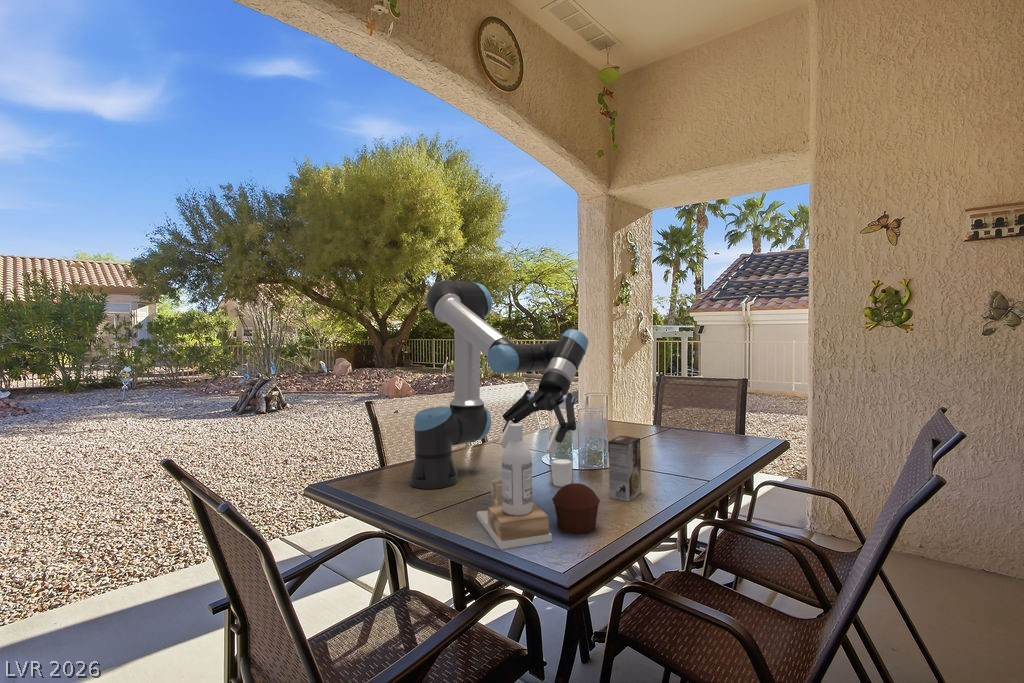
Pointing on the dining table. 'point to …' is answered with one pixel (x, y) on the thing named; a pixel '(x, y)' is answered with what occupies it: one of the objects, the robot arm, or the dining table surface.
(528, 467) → the bath foam
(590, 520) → the muffin
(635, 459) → the coffee box
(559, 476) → the white cup
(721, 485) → the dining table surface
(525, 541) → the base board
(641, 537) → the dining table surface
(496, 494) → the beech post
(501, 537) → the oak plinth
